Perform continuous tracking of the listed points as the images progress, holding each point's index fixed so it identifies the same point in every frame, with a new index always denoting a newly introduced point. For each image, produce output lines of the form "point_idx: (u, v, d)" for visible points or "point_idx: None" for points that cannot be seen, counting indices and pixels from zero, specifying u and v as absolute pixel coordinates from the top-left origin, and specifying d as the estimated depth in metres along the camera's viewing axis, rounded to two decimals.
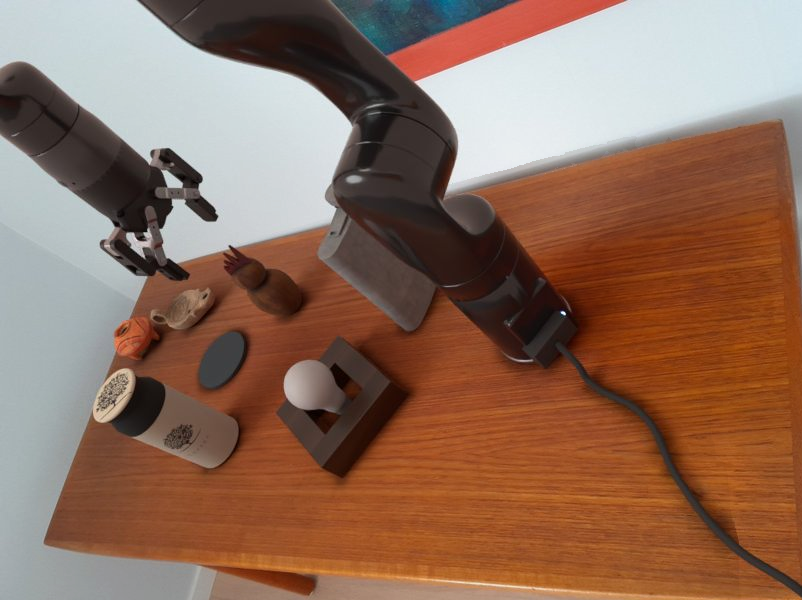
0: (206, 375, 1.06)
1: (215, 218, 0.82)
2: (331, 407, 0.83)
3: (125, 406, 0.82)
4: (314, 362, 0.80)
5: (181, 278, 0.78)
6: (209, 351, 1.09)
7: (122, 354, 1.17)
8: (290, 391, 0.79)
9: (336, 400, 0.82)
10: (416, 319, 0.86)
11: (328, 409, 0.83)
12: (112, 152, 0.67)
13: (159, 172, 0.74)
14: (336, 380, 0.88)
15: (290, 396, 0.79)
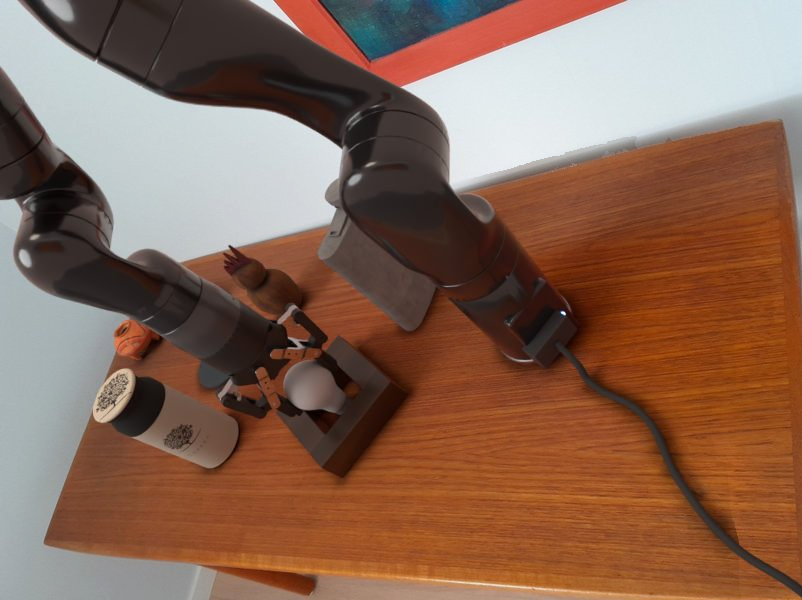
0: (206, 375, 1.06)
1: (334, 371, 0.81)
2: (331, 408, 0.83)
3: (125, 406, 0.82)
4: (314, 362, 0.80)
5: (293, 414, 0.81)
6: None
7: (122, 354, 1.17)
8: (290, 392, 0.79)
9: (336, 400, 0.82)
10: (416, 319, 0.86)
11: (328, 409, 0.83)
12: (224, 336, 0.67)
13: (281, 332, 0.74)
14: (336, 380, 0.88)
15: (290, 396, 0.79)
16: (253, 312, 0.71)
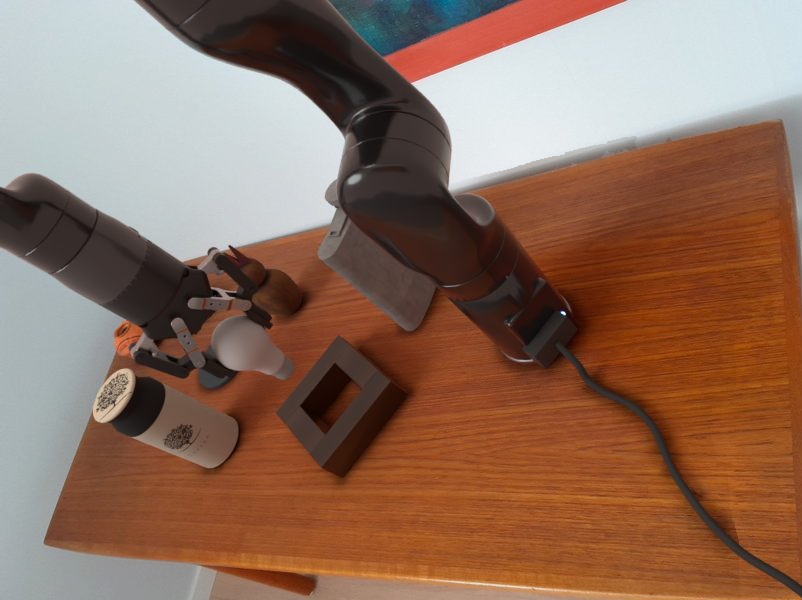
0: (206, 375, 1.06)
1: (268, 327, 0.73)
2: (266, 369, 0.74)
3: (125, 406, 0.82)
4: (245, 316, 0.72)
5: (223, 376, 0.72)
6: (209, 351, 1.09)
7: (122, 354, 1.17)
8: (216, 349, 0.70)
9: (272, 360, 0.74)
10: (416, 319, 0.86)
11: (264, 371, 0.75)
12: (126, 277, 0.59)
13: (201, 278, 0.66)
14: (336, 380, 0.88)
15: (217, 354, 0.70)
16: (165, 254, 0.63)
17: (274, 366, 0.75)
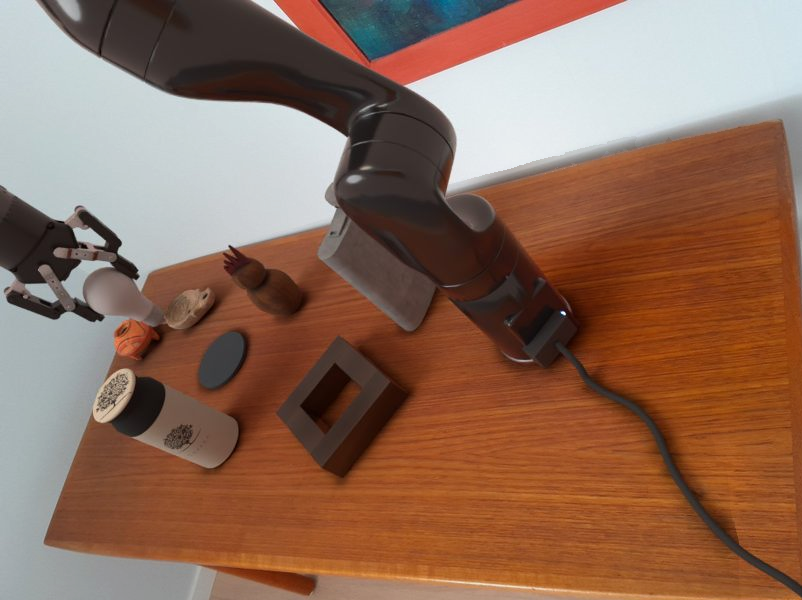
0: (206, 375, 1.06)
1: (134, 278, 0.83)
2: (135, 315, 0.85)
3: (125, 406, 0.82)
4: (113, 268, 0.82)
5: (94, 320, 0.83)
6: (209, 351, 1.09)
7: (122, 354, 1.17)
8: (85, 295, 0.81)
9: (140, 308, 0.85)
10: (416, 319, 0.86)
11: (133, 317, 0.85)
12: None
13: (66, 231, 0.76)
14: (336, 380, 0.88)
15: (87, 300, 0.81)
16: (30, 208, 0.73)
17: (142, 313, 0.85)
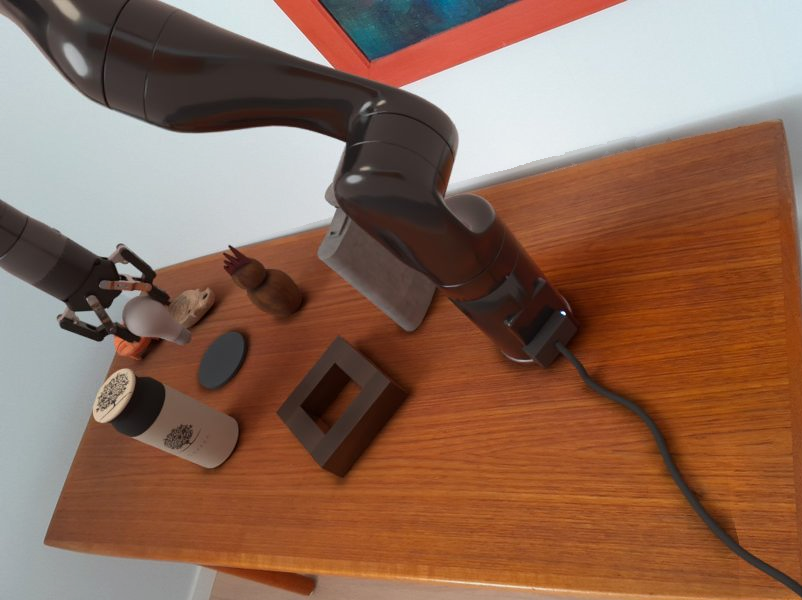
0: (206, 375, 1.06)
1: (166, 304, 0.96)
2: (166, 336, 0.98)
3: (125, 406, 0.82)
4: (148, 296, 0.95)
5: (132, 341, 0.96)
6: (209, 351, 1.09)
7: (122, 354, 1.17)
8: (125, 320, 0.93)
9: (171, 330, 0.97)
10: (416, 319, 0.86)
11: (165, 338, 0.98)
12: (48, 264, 0.82)
13: (109, 266, 0.89)
14: (336, 380, 0.88)
15: (126, 324, 0.94)
16: (80, 248, 0.86)
17: (173, 334, 0.98)
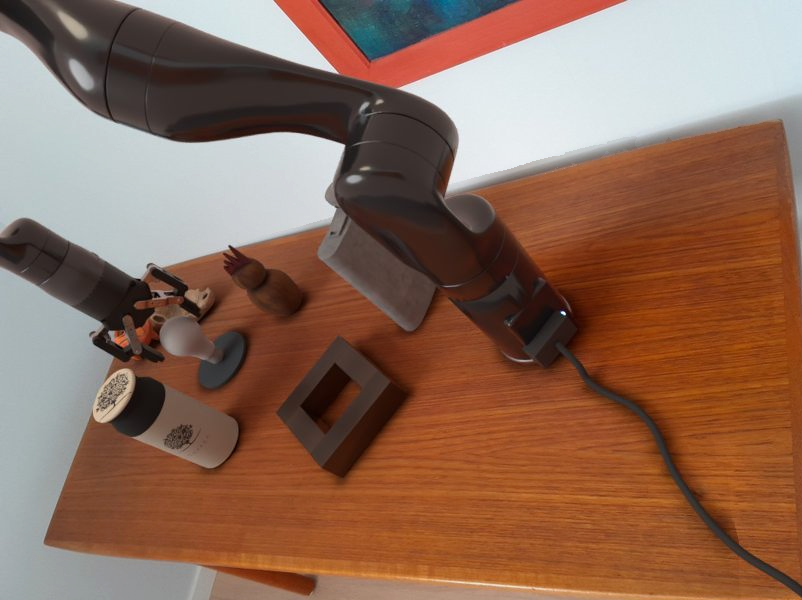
0: (206, 375, 1.06)
1: (197, 316, 1.00)
2: (201, 355, 1.02)
3: (125, 406, 0.82)
4: (184, 317, 1.00)
5: (156, 361, 0.99)
6: None
7: None
8: (162, 340, 0.98)
9: (205, 349, 1.02)
10: (416, 319, 0.86)
11: (199, 357, 1.02)
12: (88, 287, 0.86)
13: (144, 287, 0.93)
14: (336, 380, 0.88)
15: (163, 344, 0.98)
16: (117, 270, 0.90)
17: (207, 353, 1.03)
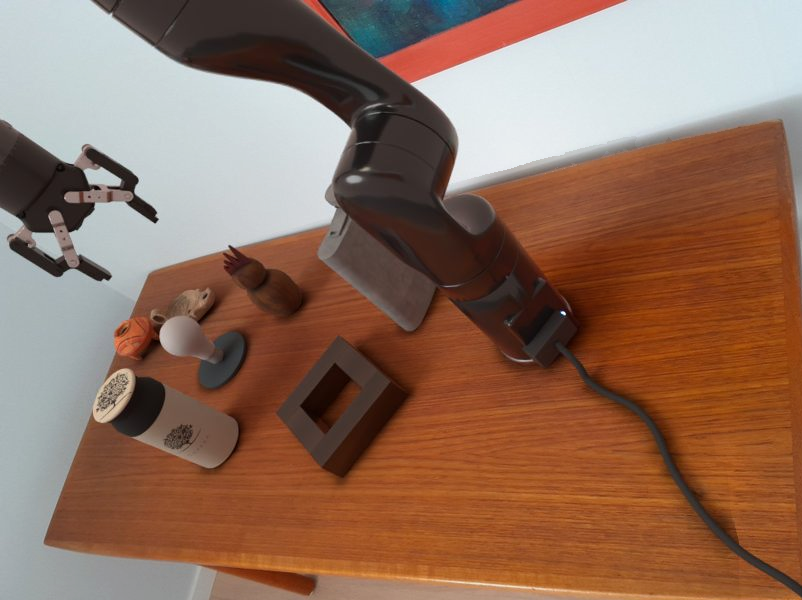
0: (206, 375, 1.06)
1: (153, 221, 0.77)
2: (201, 355, 1.02)
3: (125, 406, 0.82)
4: (184, 317, 1.00)
5: (101, 279, 0.76)
6: None
7: (122, 354, 1.17)
8: (162, 340, 0.98)
9: (205, 349, 1.02)
10: (416, 319, 0.86)
11: (199, 357, 1.02)
12: None
13: (77, 174, 0.70)
14: (336, 380, 0.88)
15: (163, 344, 0.98)
16: (38, 147, 0.67)
17: (207, 353, 1.03)
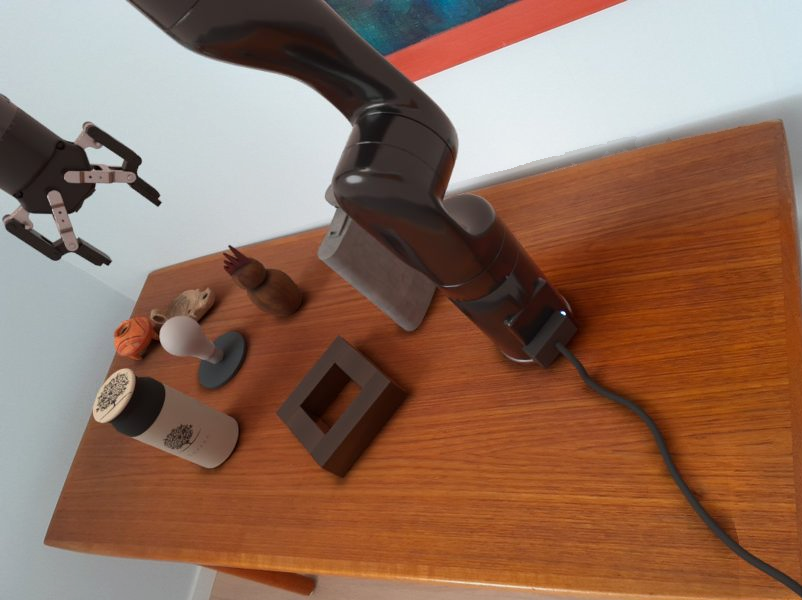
0: (206, 375, 1.06)
1: (156, 204, 0.74)
2: (201, 355, 1.02)
3: (125, 406, 0.82)
4: (184, 317, 1.00)
5: (100, 263, 0.73)
6: None
7: (122, 354, 1.17)
8: (162, 340, 0.98)
9: (205, 349, 1.02)
10: (416, 319, 0.86)
11: (199, 357, 1.02)
12: None
13: (78, 153, 0.67)
14: (336, 380, 0.88)
15: (163, 344, 0.98)
16: (37, 123, 0.64)
17: (207, 353, 1.03)
